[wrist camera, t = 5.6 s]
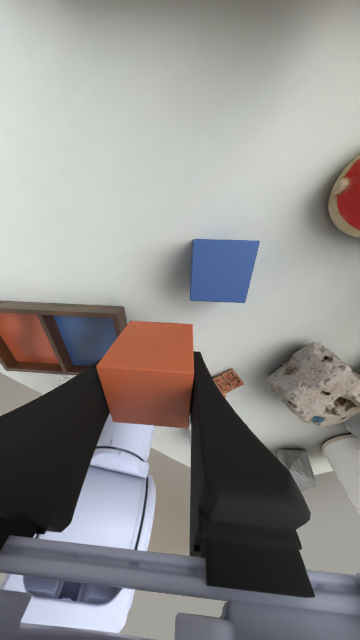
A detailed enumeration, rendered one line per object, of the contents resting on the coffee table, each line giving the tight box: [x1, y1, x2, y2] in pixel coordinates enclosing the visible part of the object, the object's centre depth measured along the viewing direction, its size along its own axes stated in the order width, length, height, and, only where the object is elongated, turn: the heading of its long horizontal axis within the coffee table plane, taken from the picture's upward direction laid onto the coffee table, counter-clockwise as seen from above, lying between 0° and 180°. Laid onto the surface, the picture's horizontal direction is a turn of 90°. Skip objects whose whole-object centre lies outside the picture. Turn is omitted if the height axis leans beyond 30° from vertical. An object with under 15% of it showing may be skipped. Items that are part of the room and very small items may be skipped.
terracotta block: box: [96, 321, 194, 428], centre depth 10 cm, size 4×4×4 cm
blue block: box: [190, 239, 260, 303], centre depth 13 cm, size 4×4×4 cm
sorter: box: [0, 301, 127, 375], centre depth 20 cm, size 18×10×2 cm, turn 89°
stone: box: [267, 342, 360, 427], centre depth 19 cm, size 13×6×10 cm
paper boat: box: [277, 449, 316, 491], centre depth 29 cm, size 12×6×9 cm
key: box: [213, 369, 244, 398], centre depth 21 cm, size 6×1×15 cm
